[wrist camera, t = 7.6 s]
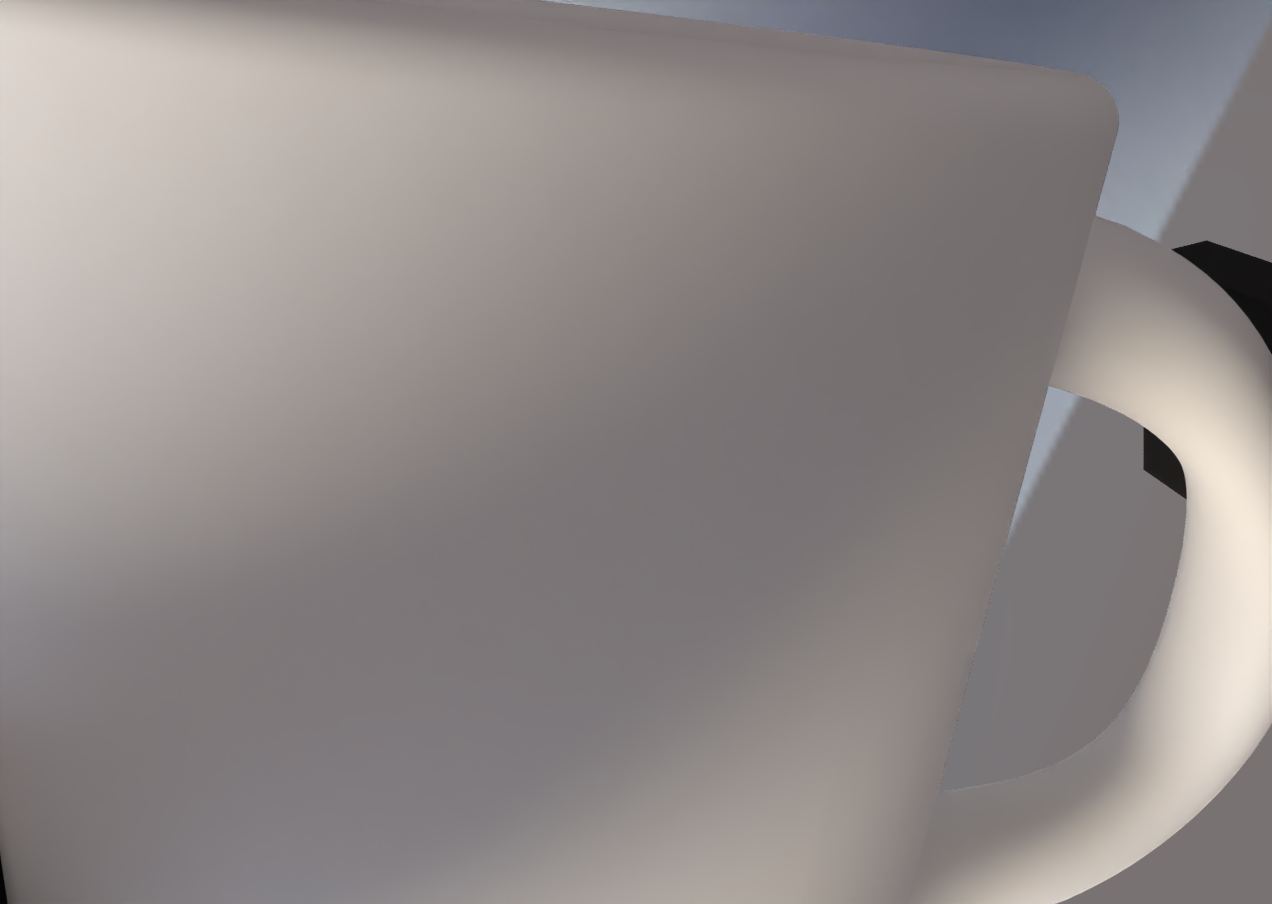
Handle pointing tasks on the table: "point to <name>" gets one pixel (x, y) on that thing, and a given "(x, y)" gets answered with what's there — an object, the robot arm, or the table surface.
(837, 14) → the table surface
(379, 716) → the mug
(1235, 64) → the table surface
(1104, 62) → the table surface
